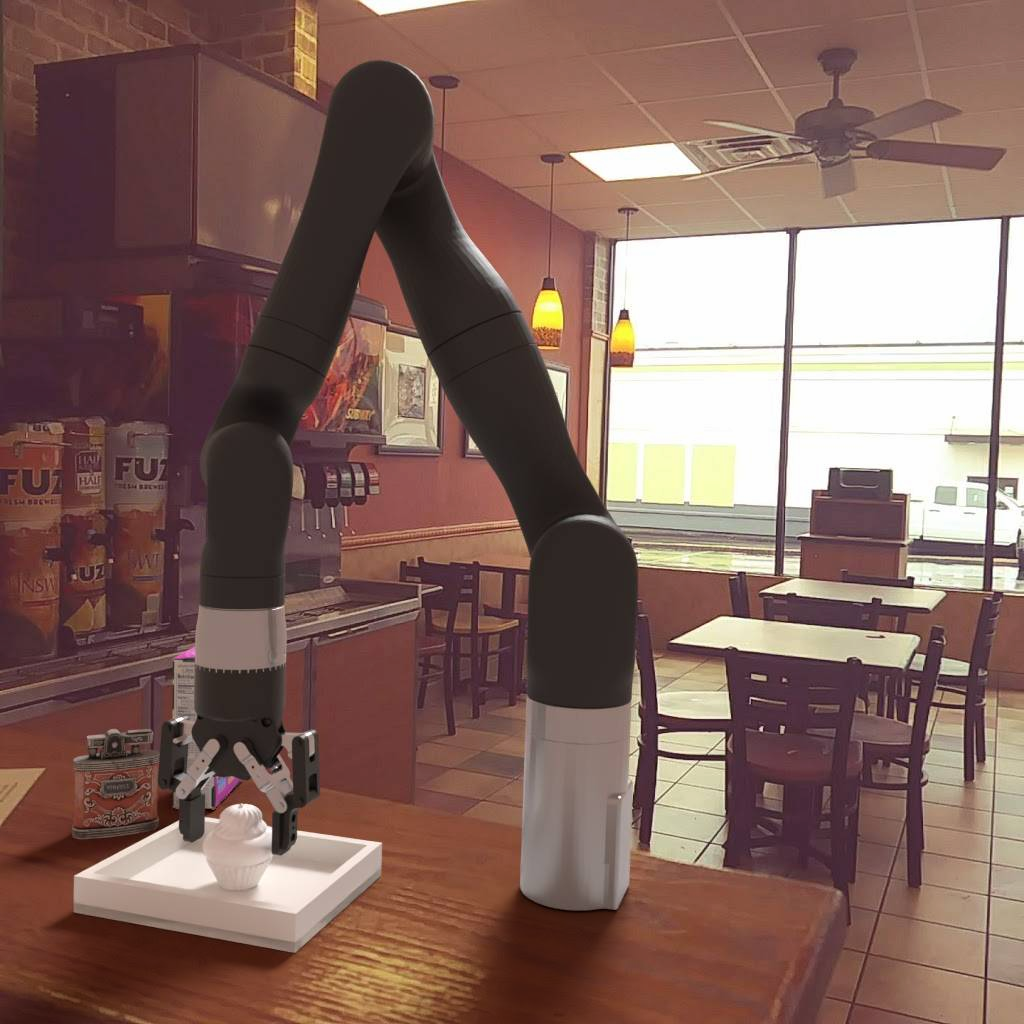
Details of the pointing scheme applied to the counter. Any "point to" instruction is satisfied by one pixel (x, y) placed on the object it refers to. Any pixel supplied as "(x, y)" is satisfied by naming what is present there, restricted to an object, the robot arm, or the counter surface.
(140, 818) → the lighter
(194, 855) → the tray
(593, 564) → the robot arm
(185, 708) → the candy bar box
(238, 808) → the muffin
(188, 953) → the counter surface
